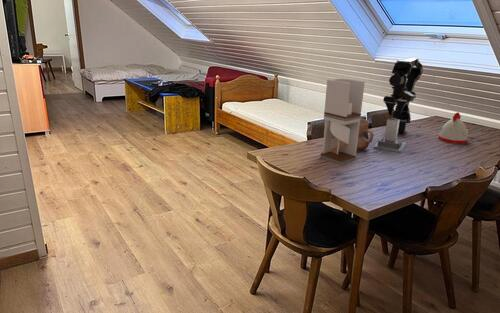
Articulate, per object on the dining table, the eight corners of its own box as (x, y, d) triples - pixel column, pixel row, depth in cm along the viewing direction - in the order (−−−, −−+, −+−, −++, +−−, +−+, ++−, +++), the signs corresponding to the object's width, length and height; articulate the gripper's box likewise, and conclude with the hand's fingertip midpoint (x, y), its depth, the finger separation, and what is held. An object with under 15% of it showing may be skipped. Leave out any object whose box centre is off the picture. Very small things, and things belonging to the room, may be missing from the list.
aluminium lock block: (385, 142, 201) (389, 116, 197) (395, 144, 199) (400, 117, 194) (383, 145, 197) (387, 118, 192) (394, 147, 195) (398, 119, 190)
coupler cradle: (380, 140, 209) (381, 133, 208) (406, 144, 203) (407, 137, 202) (373, 148, 196) (374, 141, 194) (401, 152, 190) (402, 145, 189)
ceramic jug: (329, 147, 195) (332, 119, 190) (345, 141, 205) (349, 114, 200) (362, 157, 183) (366, 127, 178) (377, 150, 193) (381, 122, 188)
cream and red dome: (433, 139, 215) (438, 111, 210) (444, 134, 223) (449, 108, 218) (460, 145, 205) (466, 116, 200) (470, 140, 214) (476, 113, 209)
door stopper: (368, 139, 210) (371, 117, 206) (362, 141, 206) (364, 118, 202) (354, 135, 216) (357, 114, 212) (347, 137, 213) (350, 115, 209)
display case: (320, 157, 180) (327, 79, 168) (335, 153, 186) (342, 78, 175) (340, 164, 172) (349, 83, 160) (355, 159, 178) (364, 81, 167)
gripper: (405, 87, 194) (400, 119, 198) (423, 86, 206) (417, 116, 211) (385, 85, 202) (380, 115, 206) (402, 83, 214) (398, 112, 218)
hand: (394, 114), depth 210 cm, fingers open, 9 cm apart
